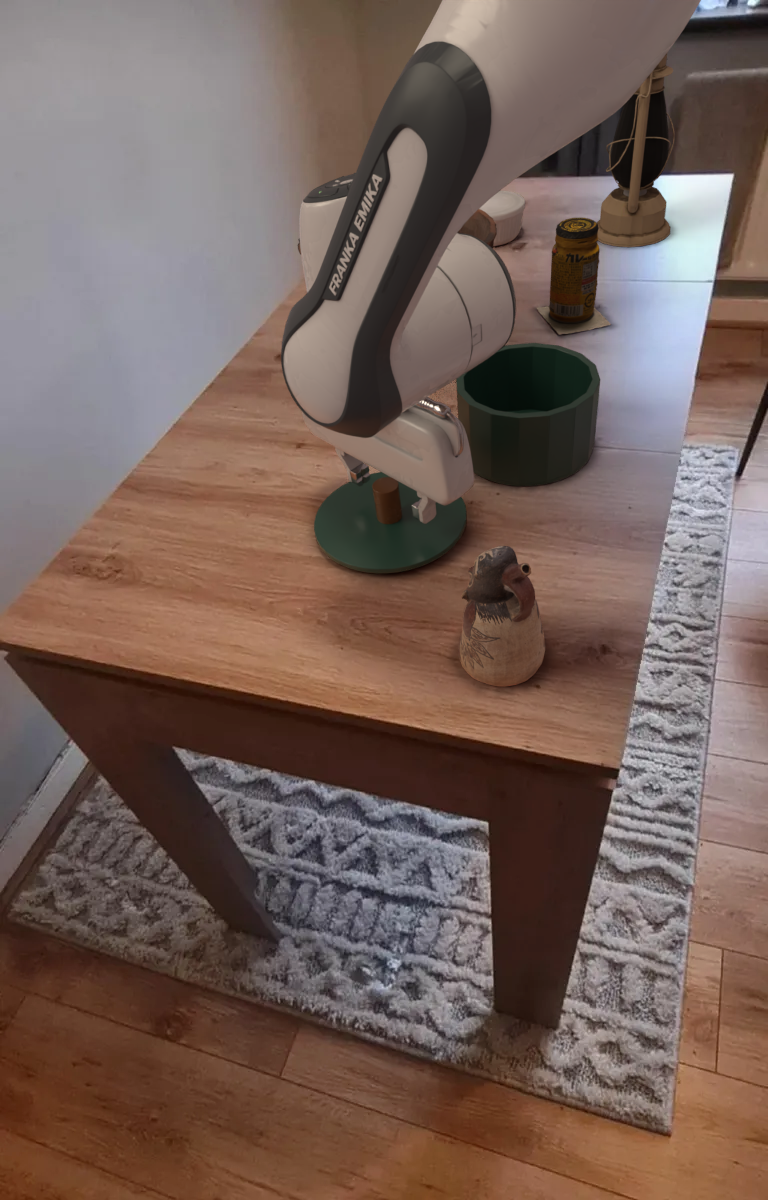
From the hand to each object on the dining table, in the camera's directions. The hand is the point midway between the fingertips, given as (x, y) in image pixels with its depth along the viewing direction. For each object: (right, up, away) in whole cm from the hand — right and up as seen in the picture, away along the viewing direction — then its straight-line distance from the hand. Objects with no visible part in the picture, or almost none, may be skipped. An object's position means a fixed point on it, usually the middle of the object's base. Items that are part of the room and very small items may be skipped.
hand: (391, 499), depth 79 cm
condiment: (+25, +28, +29) cm, 47 cm away
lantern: (+38, +48, +46) cm, 77 cm away
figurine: (+9, -15, -11) cm, 21 cm away
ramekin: (+17, +49, +51) cm, 73 cm away
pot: (+15, +7, +9) cm, 19 cm away
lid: (0, -2, +2) cm, 3 cm away
